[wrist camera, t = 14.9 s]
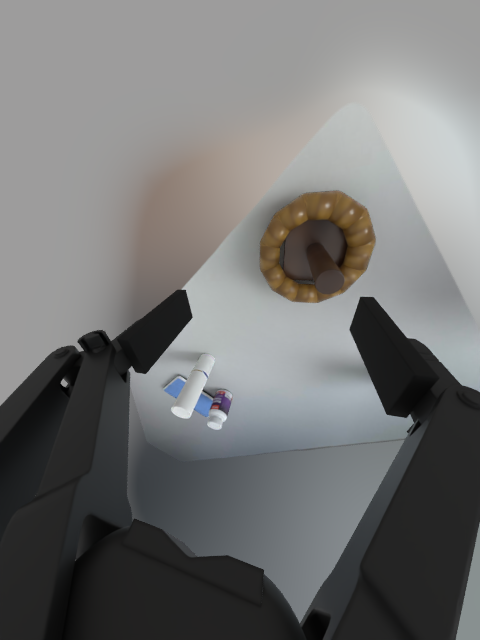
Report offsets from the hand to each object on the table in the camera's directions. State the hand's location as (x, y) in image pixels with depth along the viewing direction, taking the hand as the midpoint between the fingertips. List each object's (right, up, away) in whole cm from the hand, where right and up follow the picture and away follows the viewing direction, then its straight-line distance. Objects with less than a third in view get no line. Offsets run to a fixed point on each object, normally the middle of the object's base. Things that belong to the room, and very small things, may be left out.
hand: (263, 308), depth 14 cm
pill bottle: (-7, -24, +42) cm, 49 cm away
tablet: (-17, -27, +47) cm, 57 cm away
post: (+10, +10, +14) cm, 20 cm away
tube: (-11, -12, +35) cm, 38 cm away
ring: (+9, +8, +12) cm, 17 cm away
